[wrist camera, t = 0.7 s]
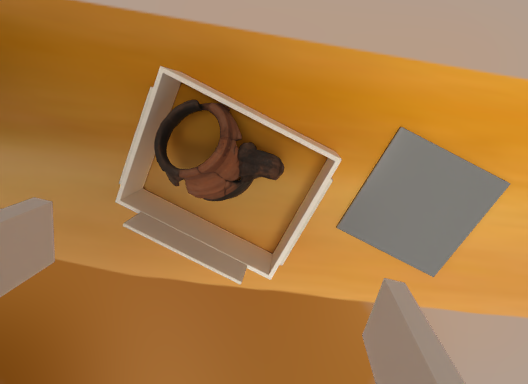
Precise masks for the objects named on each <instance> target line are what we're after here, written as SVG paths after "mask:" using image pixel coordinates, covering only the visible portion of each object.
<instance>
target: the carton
mask: <svg viewBox="0 0 528 384" xmlns="http://www.w3.org/2000/svg"><path fill="white" fill-rule="evenodd" d="M181 82H182V83H184V84H186V85H188V86H190V87H192V88H194V89H196V90H198V91H200V92H202V93H203V94H205V95H207V96H209V97H211V98H213V99H215V100H217V101H219V102H221V103H223V104H225V105H227V106H229V107H231V108H233V109H235V110H236V111H238V112H240V113H242V114H244V115H246V116H248V117H250V118H252V119H254V120H256V121H258V122H260V123H262V124H264V125H266V126H268V127H270V128H271V129H273V130H275V131H277V132H279V133H281V134H283V135H285V136H287V137H289V138H291V139H293V140H295V141H297V142H299V143H301V144H303V145H304V146H306V147H308V148H310V149H312V150H314V151H316V152H318V153H320V154H322V155H324V156H326V157H328V159H327V160H326V162H325V164H324V166H323V167H322V169H321V171H320V173H319V174H318V176H317V178H316V180H315V181H314V183H313V185H312V186H311V188H310V190H309V192H308V193H307V195H306V197H305V199H304V200H303V202H302V204H301V206H300V207H299V209H298V211H297V213H296V214H295V216H294V218H293V220H292V221H291V223H290V225H289V227H288V228H287V230H286V232H285V233H284V235H283V237H282V239H281V240H280V242H279V244H278V246H277V247H276V249H275V251H274V253H273V254H272V253H270V252H268V251H266V250H264V249H262V248H260V247H258V246H256V245H254V244H252V243H250V242H248V241H246V240H244V239H242V238H240V237H238V236H236V235H234V234H232V233H230V232H228V231H226V230H224V229H222V228H220V227H218V226H216V225H214V224H212V223H210V222H208V221H206V220H204V219H202V218H200V217H198V216H196V215H194V214H192V213H190V212H188V211H186V210H184V209H182V208H180V207H178V206H176V205H174V204H172V203H171V202H169V201H167V200H165V199H163V198H161V197H159V196H157V195H155V194H153V193H151V192H149V191H147V190H145V189H143V187H144V184H145V181H146V178H147V175H148V173H149V170H150V167H151V164H152V162H153V159H154V156H155V150H154V141H155V136H156V132H157V130H158V128H159V126H160V123H161V122H162V121H163V120H164V118H166V117H167V115H168V114H169V113H170V111H171V109H172V106H173V104H174V101H175V98H176V95H177V93H178V90H179V87H180V84H181ZM341 160H342V159H341V158H340V156H339V155H338V154H337V153H336V152H335V151H333V150H331V149H329V148H327V147H326V146H324V145H322V144H320V143H318V142H316V141H314V140H312V139H310V138H308V137H306V136H304V135H302V134H300V133H298V132H296V131H295V130H293V129H291V128H289V127H287V126H285V125H283V124H281V123H279V122H277V121H275V120H273V119H271V118H269V117H267V116H265V115H263V114H262V113H260V112H258V111H256V110H254V109H252V108H250V107H248V106H246V105H244V104H242V103H240V102H238V101H236V100H234V99H232V98H230V97H229V96H227V95H225V94H223V93H221V92H219V91H217V90H215V89H213V88H211V87H209V86H207V85H205V84H203V83H201V82H199V81H198V80H196V79H194V78H192V77H190V76H188V75H186V74H184V73H182V72H180V71H176V70H173V69H169V68H166V67H162V66H160V69H159V72H158V75H157V78H156V81H155V84H154V87H150V90H149V93H148V96H147V99H146V102H145V105H144V108H143V111H142V114H141V117H140V120H139V123H138V126H137V129H136V132H135V135H134V138H133V141H132V144H131V147H130V151H129V154H128V157H127V160H126V163H125V166H124V169H123V172H122V175H121V178H120V181H119V184H121V186H120V189H119V192H118V195H117V198H116V201H115V202H116V203H118V204H120V205H122V206H124V207H126V208H128V209H130V210H132V211H134V212H136V213H138V214H137V215H135V216H134V217H132V218H131V219H129V220H128V221H126V222H125V223H124V224H123V226H124V227H126V228H128V229H130V230H132V231H134V232H136V233H138V234H140V235H142V236H144V237H146V238H148V239H150V240H152V241H154V242H156V243H158V244H160V245H162V246H164V247H166V248H168V249H170V250H172V251H174V252H176V253H178V254H180V255H182V256H184V257H186V258H188V259H190V260H192V261H194V262H196V263H198V264H200V265H202V266H204V267H206V268H208V269H210V270H212V271H214V272H216V273H218V274H220V275H222V276H224V277H226V278H228V279H230V280H232V281H234V282H236V283H238V284H241V283H242V280H243V277H244V274H245V271H246V268H248V269H250V270H252V271H254V272H256V273H258V274H260V275H262V276H264V277H266V278H268V279H270V280H271V278H272V276H273V275H274V273H275V271H276V270H277V268H278V266H279V265H283V263H284V262H285V260H286V258H287V257H288V255H289V253H290V252H291V250H292V248H293V247H294V245H295V243H296V242H297V240H298V238H299V237H300V235H301V233H302V232H303V230H304V228H305V226H306V225H307V223H308V221H309V220H310V218H311V216H312V215H313V213H314V211H315V210H316V208H317V206H318V205H319V203H320V201H321V200H322V198H323V196H324V195H325V193H326V191H327V190H328V188H329V186H330V185H331V183H332V181H333V179H332V175H333V174H334V172H335V170H336V168H337V167H338V165H339V163H340V162H341Z"/></svg>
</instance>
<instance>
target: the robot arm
mask: <svg viewBox="0 0 528 384" xmlns="http://www.w3.org/2000/svg"><path fill="white" fill-rule="evenodd" d="M54 261H55V253H54V229H53V204H52V201H48V200H43V199H39V198H35V197H34V198H31V199H28V200H25V201H22V202H20V203H17V204H14V205H11V206H8V207H6V208H3V209H0V297H1V296H3V295H4V294H6V293H7V292H9V291H11V290H12V289H14V288H15V287H17V286H18V285H20V284H21V283H23V282H24V281H26V280H27V279H29V278H30V277H32V276H34V275H35V274H36V273H38V272H40V271H41V270H43V269H44V268H46V267H47V266H49V265H50V264H52V263H53V262H54ZM362 336H363V340H364V343H365V347H366V351H367V354H368V358H369V361H370V365H371V368H372V372H373V375H374V379H375V382H376V384H465V382H464V380H463V379H462V377H461V375H460V374H459V372H458V370H457V369H456V367H455V365H454V364H453V362H452V360H451V359H450V357H449V355H448V354H447V352H446V350H445V349H444V347H443V345H442V344H441V342H440V341H439V339H438V337H437V335H436V334H435V332H434V331H433V329H432V327H431V325H430V324H429V322H428V320H427V319H426V317H425V316H424V314H423V312H422V311H421V309H420V307H419V306H418V304H417V302H416V301H415V299H414V297H413V296H412V294H411V292H410V291H409V289H408V287H407V286H406V284H405V283H404V282H399V281H395V280H391V279H386V278H384V280H383V283H382V285H381V288H380V290H379V293H378V296H377V298H376V301H375V303H374V306H373V309H372V311H371V314H370V316H369V319H368V322H367V324H366V327H365V330H364V332H363V335H362Z"/></svg>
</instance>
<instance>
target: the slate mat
mask: <svg viewBox="0 0 528 384" xmlns="http://www.w3.org/2000/svg"><path fill="white" fill-rule="evenodd" d="M509 185H510V183H508V182H506V181H504V180H502V179H500V178H499V177H497V176H495V175H493V174H491V173H489V172H487V171H485V170H483V169H481V168H479V167H477V166H475V165H474V164H472V163H470V162H468V161H466V160H464V159H462V158H460V157H458V156H456V155H454V154H452V153H451V152H449V151H447V150H445V149H443V148H441V147H439V146H437V145H435V144H433V143H431V142H429V141H427V140H426V139H424V138H422V137H420V136H418V135H416V134H414V133H412V132H410V131H408V130H406V129H404V128H402V127H400V128H399V130H398V131H397V133H396V134H395V136H394V137H393V139H392V141H391V142H390V144H389V145H388V147H387V148H386V150H385V152H384V153H383V155H382V156H381V158H380V159H379V161H378V163H377V164H376V166H375V167H374V169H373V170H372V172H371V173H370V175H369V177H368V178H367V180H366V181H365V183H364V184H363V186H362V188H361V189H360V191H359V192H358V194H357V195H356V197H355V199H354V200H353V202H352V203H351V205H350V206H349V208H348V209H347V211H346V213H345V214H344V216H343V217H342V219H341V220H340V222H339V224H338V225H337V228H338V229H340V230H342V231H344V232H346V233H348V234H350V235H352V236H354V237H356V238H358V239H360V240H362V241H364V242H366V243H368V244H370V245H372V246H373V247H375V248H377V249H379V250H381V251H383V252H385V253H387V254H389V255H391V256H393V257H395V258H397V259H399V260H401V261H403V262H405V263H407V264H409V265H411V266H413V267H415V268H417V269H419V270H421V271H423V272H425V273H427V274H428V275H430V276H432V277H434V276H435V275H436V274H437V272H438V271H439V270H440V269H441V268H442V266H443V265H444V264H445V263H446V262H447V260H448V259H449V258H450V257H451V255H452V254H453V253H454V252H455V251H456V249H457V248H458V247H459V246H460V245H461V243H462V242H463V241H464V240H465V238H466V237H467V236H468V235H469V234H470V232H471V231H472V230H473V229H474V228H475V226H476V225H477V224H478V223H479V221H480V220H481V219H482V218H483V217H484V215H485V214H486V213H487V212H488V211H489V209H490V208H491V207H492V206H493V204H494V203H495V202H496V201H497V200H498V198H499V197H500V196H501V195H502V194H503V192H504V191H505V190H506V189H507V188H508V186H509Z"/></svg>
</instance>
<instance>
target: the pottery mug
mask: <svg viewBox="0 0 528 384" xmlns="http://www.w3.org/2000/svg"><path fill="white" fill-rule="evenodd" d="M202 110H208V111H210V112H211V113H212V114H213V115H215V117H216V118H217V119H218V122H219V125H220V140H219V143H218V146H217V148H216V149H215V151H214V152H213V154H212V155H211V156H210V157H209V158H208V159H207V160H206V161H205V162H204V163H202V164H201V165H199V166H198V167H194V168H191V169H179V168H176V167H175V166H173V165H172V164H171V163H170V161H169V159H168V157H167V153H166V149H167V142H168V140H169V137H170V135H171V133H172V131H173V129H174V128H175V127H176V126H177V125H178V124H179V123H180V122H181V121H182V120H183V119H184V118H185V117H186V116H187V115H189V114H191V113H193V112H196V111H202ZM229 111H230V109H229V107H228V106H225V105H223V104H218V103H205V104H199V102H198V101H197V100H190V101H187V102H184V103H183V104H180V105H178V106H177V107H175V108H174V109H173V110H172V111H170V113H169V114H168V115H167V117H166V118H164V120H163V121H162V122H161V123H160V126H159V128H158V130H157V132H156V136H155V141H154V150H155V155H156V158H157V162H158V163H159V165H160V167H161V168H162V170H163V171H165V172H166V174H167V176H168V178H169V180H170V181H171V182H172V183H173V184H174V185H175V186H179V182H180V181H181V180H183V179H185V184H186V186H187V190H188V193H189V194H192V195H193V196H195V197H197V198H203V199H206V200H208V201H222V200H225V199H230V198H233V197H236V196H238V195H240V194H241V193H243V192H244V191H245V190H246V189H247V188H248V187H249V186H250V184H251V183H252V181H253V180H254V179H255V178H258V177H265V178H268V179H272V180H277V179H278V178H279V176H280V175H281V174H282V173H283V171H284V165H283V163H282V162H281V160H280V159H279V158H278V157H277V156H275V155H273V154H270V153H267V152H264V151H260V150H257V148H256V146H255V145H254V144H253V143H251V142H249V143H243V144H242V145H241V146H240V148H239V150H238V147H237V145H236V141H238V140H241V139H242V136H241V133H240V131H239V128H238V126H237V123H236V121H235V120H234V118H233V117H232V115H231V114H230V112H229ZM240 176H241V180H239V181H238V180H237V181H236V179H238V178H239V177H240ZM234 180H235V181H234Z"/></svg>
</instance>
